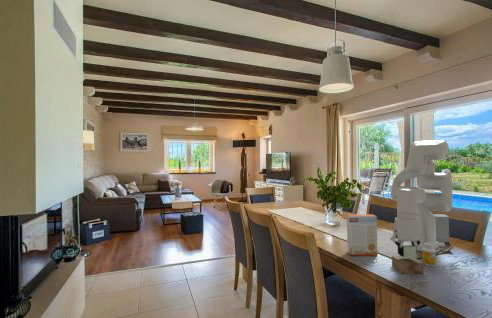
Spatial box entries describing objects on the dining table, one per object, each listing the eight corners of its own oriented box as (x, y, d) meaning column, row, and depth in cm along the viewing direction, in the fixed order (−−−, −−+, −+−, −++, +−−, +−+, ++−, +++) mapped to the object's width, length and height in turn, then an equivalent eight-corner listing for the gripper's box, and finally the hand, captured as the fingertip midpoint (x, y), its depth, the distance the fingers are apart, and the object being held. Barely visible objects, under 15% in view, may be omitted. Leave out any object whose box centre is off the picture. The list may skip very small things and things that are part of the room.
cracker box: (373, 252, 143) (373, 213, 143) (377, 256, 137) (377, 216, 137) (346, 251, 145) (346, 213, 145) (350, 255, 139) (349, 216, 139)
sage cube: (409, 254, 124) (409, 243, 124) (416, 258, 119) (416, 247, 118) (398, 254, 124) (398, 243, 124) (404, 258, 119) (404, 247, 119)
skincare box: (445, 239, 163) (445, 214, 163) (450, 243, 156) (449, 216, 156) (429, 238, 166) (429, 213, 166) (433, 241, 159) (433, 215, 159)
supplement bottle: (419, 262, 130) (419, 242, 130) (429, 261, 130) (429, 241, 130) (427, 266, 124) (427, 245, 124) (438, 266, 125) (438, 245, 125)
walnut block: (410, 266, 126) (410, 255, 126) (423, 274, 117) (423, 263, 117) (392, 266, 126) (391, 255, 126) (403, 274, 117) (403, 263, 117)
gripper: (420, 213, 125) (420, 252, 125) (383, 214, 125) (384, 252, 125) (431, 217, 117) (431, 258, 117) (392, 217, 117) (393, 258, 117)
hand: (407, 254), depth 121 cm, fingers closed on sage cube, 5 cm apart
